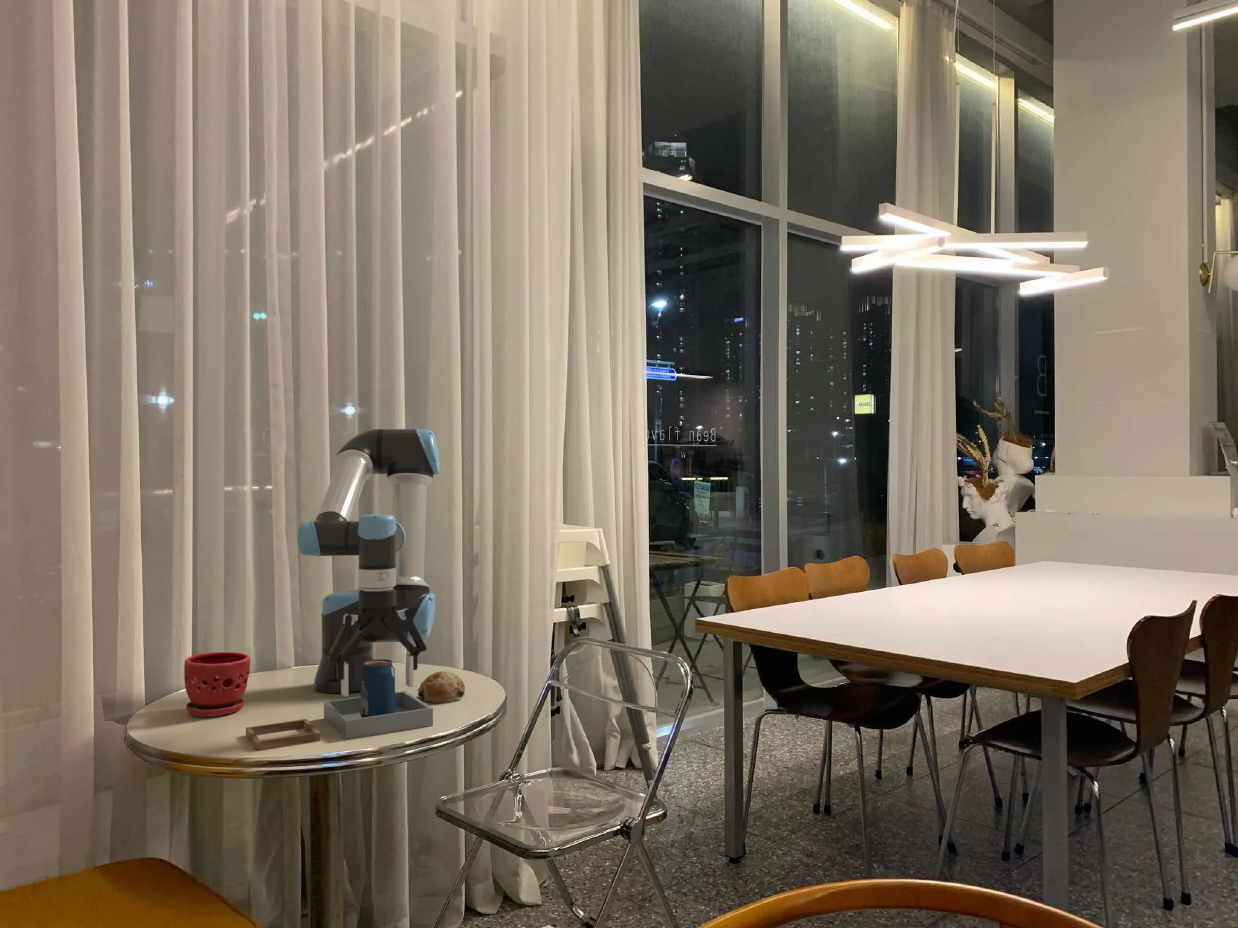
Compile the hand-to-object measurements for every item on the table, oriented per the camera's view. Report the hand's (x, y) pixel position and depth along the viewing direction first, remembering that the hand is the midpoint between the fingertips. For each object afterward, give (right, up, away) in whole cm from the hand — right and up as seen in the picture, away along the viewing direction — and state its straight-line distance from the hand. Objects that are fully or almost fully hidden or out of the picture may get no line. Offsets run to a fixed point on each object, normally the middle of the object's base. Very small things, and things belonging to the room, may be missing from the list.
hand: (377, 690), depth 184 cm
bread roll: (+9, -7, +19) cm, 22 cm away
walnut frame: (-16, -6, -11) cm, 20 cm away
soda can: (0, -6, 0) cm, 6 cm away
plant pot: (-37, -7, +8) cm, 39 cm away
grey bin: (0, -6, 0) cm, 6 cm away
